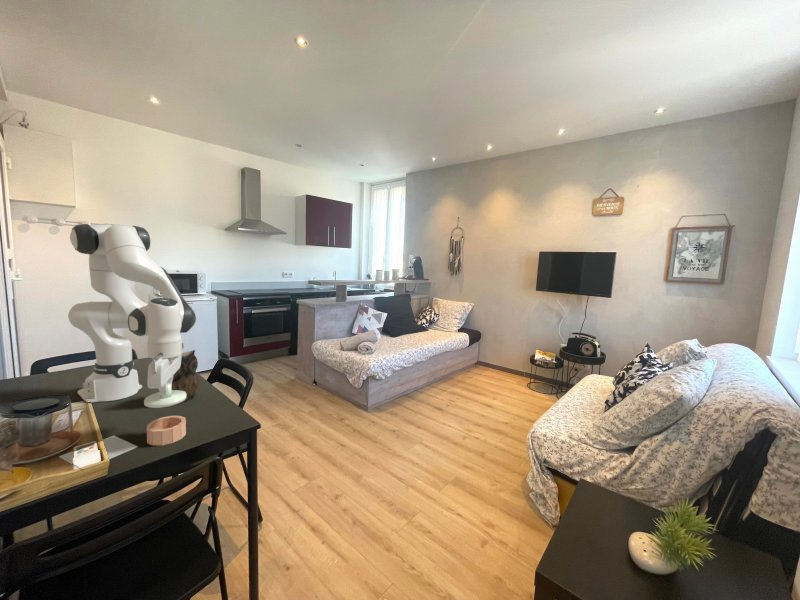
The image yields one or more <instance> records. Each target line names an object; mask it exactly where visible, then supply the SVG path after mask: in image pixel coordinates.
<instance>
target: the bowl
mask: <svg viewBox="0 0 800 600" xmlns="http://www.w3.org/2000/svg"><path fill="white" fill-rule="evenodd" d="M185 436H187V419H186V417H185V416H181V415H167V416H163V417H159V418H157V419H154V420H152V421H151V422H149V423H148V424H146V444H148V445H151V446H166V445H169V444H170V445H171V444H173V443H175V442H178V441H180V440H182V439H183V438H184V437H185Z"/></svg>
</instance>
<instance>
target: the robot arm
mask: <svg viewBox="0 0 800 600" xmlns="http://www.w3.org/2000/svg"><path fill="white" fill-rule="evenodd" d="M69 239H70V243H71V245H72V246H73V248H74V250H75V251H77V252H78V253H80V254H82V255H83V254H84V255H89V256H88V266H89V270H88V271H89V277H90V286H91V288H92V289H93V290H94V291H96V293H99V294H102V295H104V296H106V297H108V298H109V299H110V300H111V301H86V302H80V303H76V304H74V305H73V306H71V308H70V309H69V311H68V313H67V314H68V315H67V316H68V317H67V318H68V321H69V322H70V324H71V326H73V327H74V328H76V329H78V330H80V331H81V332H82V333H85V334H86V335H87V336H88V337H89V339H90V340H91V342H92V344H93V346H94V351H95V363H94V362H93V363H94V366H93V372H92V373H91V374H90V375H89V376H88V377H86V378H85V381H83V382H82V385H81V386H82V388H81V389H79V390H77V395H78V396H80V397H81V399H82V400H83V401H84V402H85V401H90V402H91V403H97V402H111V401H119V400H122V399H126V398H129V397H131V396H134V395H136V394H137V393H138V392H139V391H140V390H141V389H142V388H143V385H142V384H140V383H139V374H138V371H137V369H134V368H135V362H134V361H135V360H134V359H133V343H132V341H130V339H128V338H127V337H125V336H122V335H119V334H117V333H116V332H115V331H114V329H128V330H129V331H130V332H131V333H132V334H134V335H136V336H137V337H147V343H146V346H147V357H148V358H149V359H152V360H151V361H150V363H149V364H148V367H147V381H146V382H147V383H146V385H147V388H148V389H150V390H151V389H155V390H156V389H158V392H159V395H166V394H167V392H168V391H167V387H166V384H167V383H171V384H172V380H173V375H174V374H175V373H176V372H177V371H178V369H179V368H180V366H181V357H182V353H183V349H184V347H185V344H184V341H182V339H183V338H182V335H181V333H182V334H184V333H188V331H190V330H191V329H192V328H193V327H194V325H196V324H195V323H196V321H197V316H196V313H195V311H194V309H193V308H192V307H191V306H190V304H188V303H187V301H186V300H185V298H184V297H183V295H182V293H181V292H180V290H179V288H178V287H177V285H176V283H175V282H174V280H173V279H172V278H171V276H170V275H169V273H168V271H167V270H166V269H165V268H164V267H162V266H161V265H160V266H159V264H157V263H156V262H155V261H154V260H153V259H152V258H151V256H150V255H149V253H148V252H147V251H148V250H150V248H151V243H152V241H151V237H150V234H149V231H147V229H146V228H145V227H141V226H137V225H125V224H118V223H117V224H113V223H111V224H106V223H105V224H103V223H102V224H99V223H97V224H96V223H95V224H88V223H82V224H76V225H74V226H73V227H72V228H71V231H70V234H69ZM130 281H131V282H136V283H140V284H142V285H143V284H144V285H147V286H150V287H153V288H154V289H156V290H157V291H158V292H159V294H160V295H161V297H156V298H155V297H154V298H153V299H150V300H148V303H146V302H145V301H143V300H141V298H140V297H138V296H137V295H136V294H135V293H134V291H133V290H132V287H131V285H130Z"/></svg>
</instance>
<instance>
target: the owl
mask: <svg viewBox="0 0 800 600" xmlns="http://www.w3.org/2000/svg"><path fill="white" fill-rule="evenodd" d="M195 353H196V350H195V349H194V350H193V349H192V350H190V351H186V352H182V357H181V366H180V368H179V369H178V371H177V372H176V373H175V374H174V375H173V380H172V390H180V391H184V392H186V399H185V400H184V401H183V402H181V403H178V404H176V405H172V406H179V405H182V404H183V403H186V402H189V401H190V400H193V399H195V396H196V395H197V391H198V388H199V384H200V379H199V375H198V374H197V373H196V372H197V369H198V366H199V365H198V363H199V362H198V358H197V357H196V355H195ZM172 406H171V407H172Z"/></svg>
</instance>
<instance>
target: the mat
mask: <svg viewBox="0 0 800 600" xmlns="http://www.w3.org/2000/svg"><path fill="white" fill-rule="evenodd" d="M102 440H103V442H104V446H105V448H106V451H107V455H108V457H109V460H110V459H111V460H112V459H113V458H115V457H118V456H120V455H123V454H125V453H127V452H130V451H132V450H134V449H136V448H139V446H138V445H136V444H133V443H131V442H129V441H127V440H124V439H123V438H120V437H118V436H116V435H112V436H109V437H106V438H103V439H102ZM73 451H74V450H73ZM73 451H70V452H66V453H64V454H61V455H60V456H58V458H60V459H61V460H64V461H65V462H67V463H68V464H69V463H70V464H71V465H72V463H71V461H72V459H73Z"/></svg>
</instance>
